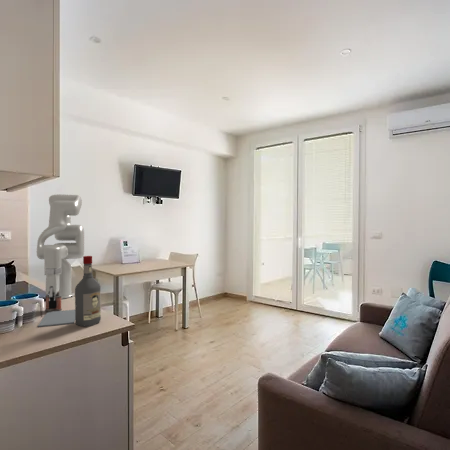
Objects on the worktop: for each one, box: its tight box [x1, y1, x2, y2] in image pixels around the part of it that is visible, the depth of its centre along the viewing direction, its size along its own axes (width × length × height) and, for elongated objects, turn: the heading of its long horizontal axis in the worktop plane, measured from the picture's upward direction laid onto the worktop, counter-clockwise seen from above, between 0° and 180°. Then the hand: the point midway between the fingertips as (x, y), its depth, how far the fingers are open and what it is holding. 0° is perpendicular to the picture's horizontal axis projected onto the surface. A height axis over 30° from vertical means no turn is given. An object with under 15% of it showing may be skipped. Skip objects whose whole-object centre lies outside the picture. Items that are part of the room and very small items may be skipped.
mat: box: [37, 309, 75, 328], centre depth 147 cm, size 20×14×1 cm
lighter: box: [45, 291, 63, 312], centre depth 158 cm, size 8×3×10 cm, turn 84°
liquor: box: [74, 255, 102, 328], centre depth 140 cm, size 9×9×30 cm
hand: (53, 306), depth 158 cm, fingers closed on lighter, 4 cm apart
